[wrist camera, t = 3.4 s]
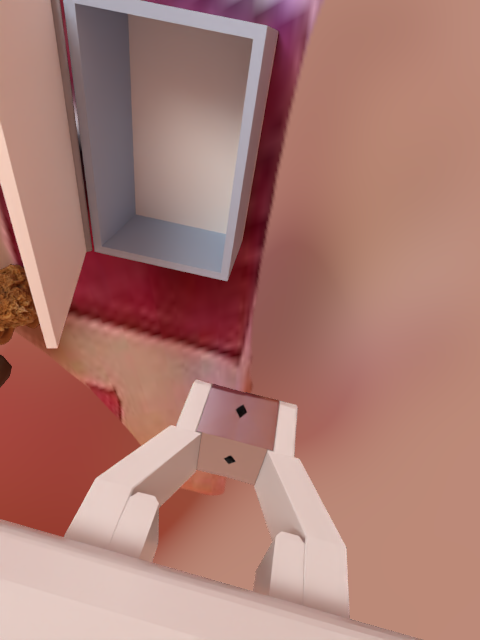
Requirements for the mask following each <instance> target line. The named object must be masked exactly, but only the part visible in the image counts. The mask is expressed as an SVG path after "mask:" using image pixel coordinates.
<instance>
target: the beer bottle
mask: <svg viewBox="0 0 480 640" xmlns="http://www.w3.org/2000/svg"><path fill="white" fill-rule="evenodd" d="M11 368H12V366H11V365H10V364H9V363H8V362H7V360H6V359H5V358H4V357H3V356H2V355H0V387H1V386H2V385H3V384H4V383H5V381H6V380H7V379H8V378H9V376H10V373H11Z"/></svg>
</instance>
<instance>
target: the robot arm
mask: <svg viewBox="0 0 480 640" xmlns="http://www.w3.org/2000/svg"><path fill="white" fill-rule="evenodd" d="M297 410H298V408H297V405H294V404H290V403H286V402H283V401H279V400H276V399H271V398H268V397H263V396H259V395H255V394H251V393H247V392H246V393H244V392H241V391H237V390H233V389H230V388H226V387H223V386H219V385H216V384H212V383H208V382H204V381H200V380H197V379H196V380H195V381H194V383H193V384H192V387H191V389H190V392H189V394H188V397H187V399H186V402H185V404H184V407H183V409H182V412H181V414H180V417H179V419H178V422H177V424H176V426H173V425H170V426H169V427H167V428H166V429H164V430H163V431H162V432H160V433H159V434H157V435H156V436H155V437H153V438H152V439H150V440H149V441H148V442H146V443H145V444H143V445H142V446H141V447H139V448H138V449H136V450H135V451H133V452H132V453H131V454H129V455H128V456H126V457H125V458H124V459H122V460H121V461H119V462H118V463H117V464H115V465H114V466H112V467H111V468H110V469H108V470H107V471H105V472H104V473H103V474H101V475H100V476H98V477H97V478H96V479H95V481H94V483H93V484H92V486H91V488H90V490H89V492H88V493H87V495H86V497H85V499H84V501H83V503H82V504H81V506H80V508H79V510H78V512H77V514H76V515H75V517H74V519H73V521H72V523H71V525H70V527H69V528H68V530H67V532H66V534H65V536H64V537H61V536H57V535H53V534H50V533H46V532H43V531H39V530H36V529H32V528H29V527H25V526H21V525H18V524H15V523H11V522H8V521H4V520H1V519H0V640H422V639H418V638H415V637H411V636H408V635H404V634H401V633H397V632H394V631H390V630H386V629H383V628H380V627H376V626H373V625H369V624H366V623H362V622H359V621H355V620H352V619H350V615H349V594H348V574H347V553H346V546H345V544H344V542H343V541H342V538H341V537H340V535H339V533H338V531H337V529H336V527H335V525H334V524H333V521H332V520H331V518H330V516H329V514H328V512H327V510H326V508H325V506H324V504H323V503H322V501H321V499H320V497H319V495H318V493H317V491H316V489H315V487H314V485H313V484H312V481H311V480H310V478H309V476H308V474H307V472H306V470H305V468H304V466H303V464H302V462H301V461H300V459H299V458H295V457H294V454H295V439H296V423H297ZM196 470H199V471H203V472H208V473H212V474H216V475H220V476H224V477H228V478H231V479H235V480H238V481H241V482H245V483H248V484H252V485H255V486H254V488H255V491H256V493H257V497H258V500H259V503H260V506H261V509H262V512H263V515H264V517H265V521H266V524H267V527H268V530H269V533H270V535H271V539H272V543H271V545H270V547H269V549H268V551H267V552H266V554H265V556H264V558H263V559H262V561H261V563H260V565H259V566H258V568H257V570H256V574H255V582H254V589H253V591H250V590H246V589H243V588H239V587H236V586H232V585H229V584H225V583H222V582H218V581H215V580H211V579H208V578H204V577H200V576H197V575H194V574H190V573H187V572H183V571H179V570H176V569H173V568H169V567H166V566H162V565H159V564H155V563H152V561H153V558H154V555H155V551H156V549H157V545H158V521H159V519H158V517H159V507H160V506H161V505H162V504H163V503H164V502H165V501H166V500H167V499H169V498H170V497H171V496H172V495H173V494H174V492H176V491H177V490H178V489H179V488H180V487H181V486H182V485H183V484H184V483H185V482H186V481H187V480H188V479H189V478H190V477H191V476H192V475H193V474H194V473H195V472H196Z"/></svg>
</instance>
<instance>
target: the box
mask: <svg viewBox="0 0 480 640" xmlns="http://www.w3.org/2000/svg"><path fill="white" fill-rule="evenodd" d="M63 3H64V11H65V19H66V27H67V35H68V43H69V50H70V58H71V66H72V74H73V82H74V90H75V98H76V106H77V114H78V122H79V130H80V138H81V146H82V154H83V162H84V170H85V178H86V186H87V193H88V201H89V209H90V217H91V225H92V233H93V241H94V249H95V252H99V253H103V254H107V255H112V256H116V257H121V258H125V259H130V260H134V261H139V262H143V263H148V264H152V265H156V266H161V267H165V268H170V269H174V270H179V271H183V272H188V273H192V274H197V275H201V276H205V277H210V278H214V279H219V280H223V281H228V279H229V276H230V273H231V270H232V268H233V265H234V262H235V260H236V257H237V254H238V251H239V249H240V246H241V243H242V240H243V234H244V229H245V223H246V217H247V211H248V205H249V200H250V194H251V188H252V182H253V177H254V171H255V165H256V159H257V154H258V148H259V142H260V136H261V131H262V125H263V119H264V113H265V107H266V102H267V96H268V90H269V84H270V79H271V73H272V67H273V61H274V56H275V50H276V44H277V38H278V33H279V31H277V30H275V29H273V28H271V27H269V26H266V25H261V24H256V23H251V22H246V21H241V20H236V19H231V18H226V17H221V16H216V15H211V14H206V13H201V12H196V11H191V10H186V9H181V8H176V7H171V6H166V5H161V4H156V3H151V2H146V1H141V0H63Z"/></svg>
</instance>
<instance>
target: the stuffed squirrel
mask: <svg viewBox="0 0 480 640" xmlns="http://www.w3.org/2000/svg"><path fill="white" fill-rule="evenodd" d="M39 323H40V322H39V319H38V315H37V312H36V308H35V305H34V301H33V297H32V294H31V290H30V287H29V283H28V280H27V276H26V273H25V269H24V268H23V267H21V266H20V265H12V264H10V266H8V267H6V268H3V269H1V270H0V345H2V344H5V343H7V342H8V341H9V340H10V339H11V337H12V334H13V332H14V329H15V328H16V327H17V326H19V325H21V326H25V325H27V326H28V327H31V328H35V327H37V326H38V325H39Z"/></svg>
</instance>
